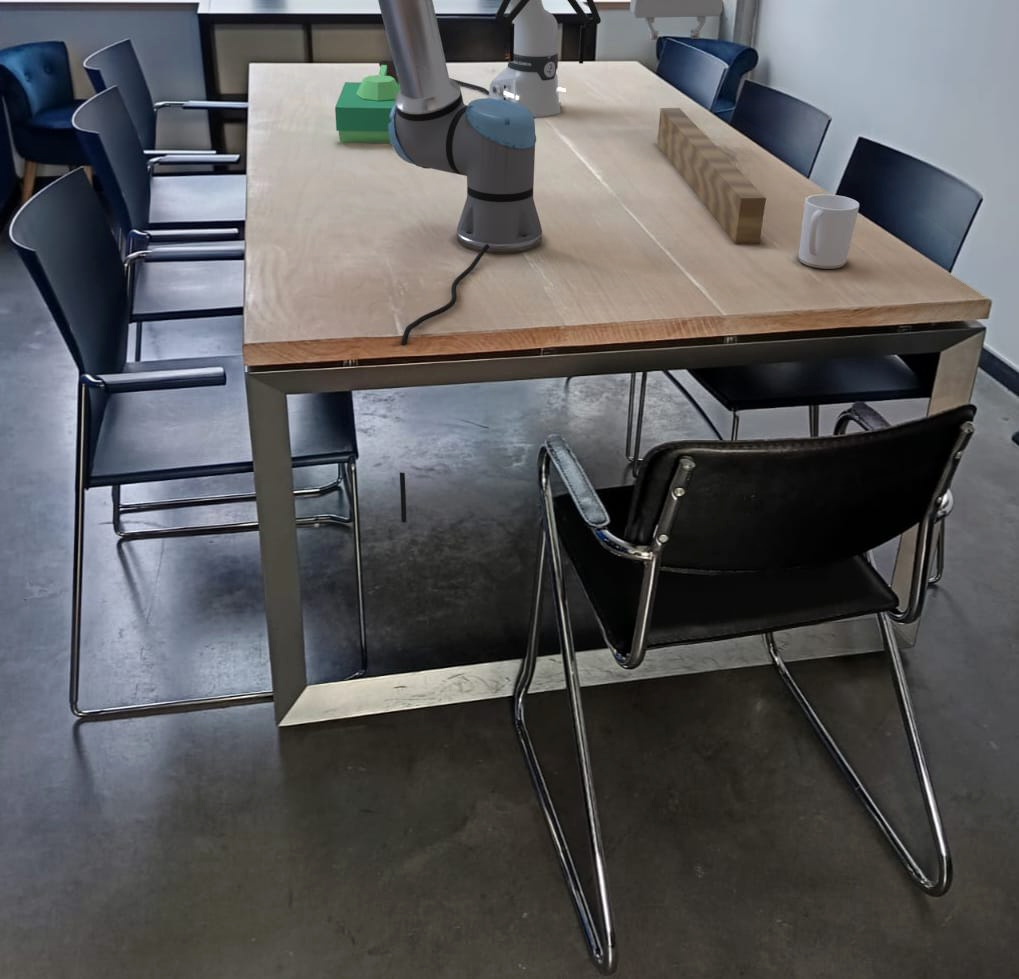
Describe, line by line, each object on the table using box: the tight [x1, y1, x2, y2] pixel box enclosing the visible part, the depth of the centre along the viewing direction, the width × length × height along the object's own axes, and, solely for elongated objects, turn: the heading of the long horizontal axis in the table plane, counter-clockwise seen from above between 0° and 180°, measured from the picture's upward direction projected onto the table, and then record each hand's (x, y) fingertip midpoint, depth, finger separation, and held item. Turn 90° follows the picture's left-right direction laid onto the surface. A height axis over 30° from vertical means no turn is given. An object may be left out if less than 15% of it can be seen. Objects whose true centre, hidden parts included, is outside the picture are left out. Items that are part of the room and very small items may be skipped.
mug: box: [798, 193, 860, 270], centre depth 186 cm, size 11×9×10 cm
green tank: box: [334, 65, 401, 144], centre depth 261 cm, size 18×12×35 cm
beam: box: [656, 107, 767, 244], centre depth 225 cm, size 70×4×8 cm, turn 5°
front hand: (546, 61), depth 215 cm, fingers open, 13 cm apart
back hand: (674, 39), depth 242 cm, fingers open, 8 cm apart
